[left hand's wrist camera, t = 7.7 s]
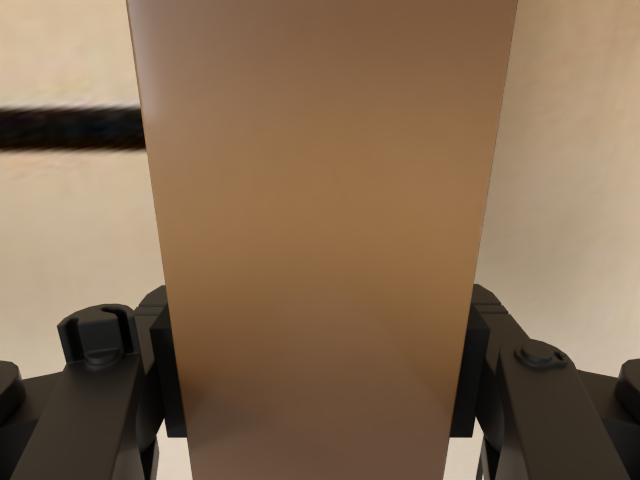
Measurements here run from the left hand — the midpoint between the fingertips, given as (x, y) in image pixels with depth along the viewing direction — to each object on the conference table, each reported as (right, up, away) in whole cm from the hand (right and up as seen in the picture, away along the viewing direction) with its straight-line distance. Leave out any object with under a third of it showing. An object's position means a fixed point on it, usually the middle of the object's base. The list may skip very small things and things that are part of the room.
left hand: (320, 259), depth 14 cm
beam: (0, +33, -12) cm, 35 cm away
